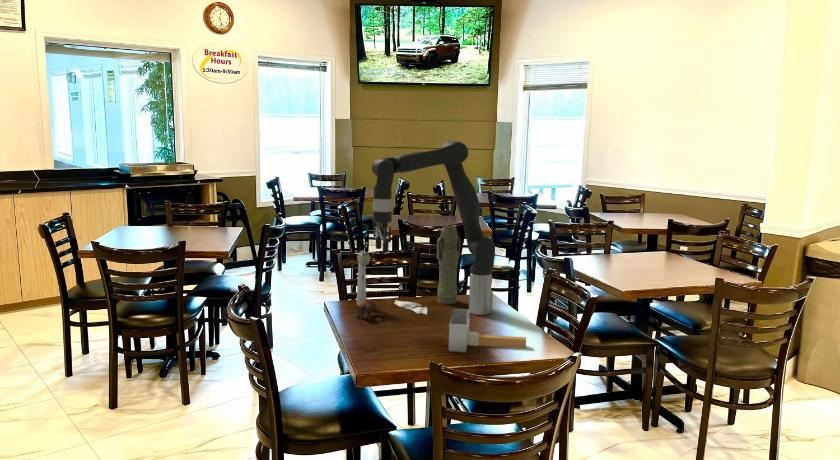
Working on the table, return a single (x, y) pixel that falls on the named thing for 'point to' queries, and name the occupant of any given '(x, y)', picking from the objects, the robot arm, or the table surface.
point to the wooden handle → (495, 340)
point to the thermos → (448, 264)
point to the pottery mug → (367, 308)
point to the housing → (458, 330)
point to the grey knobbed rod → (362, 276)
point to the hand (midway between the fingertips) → (381, 250)
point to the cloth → (410, 304)
